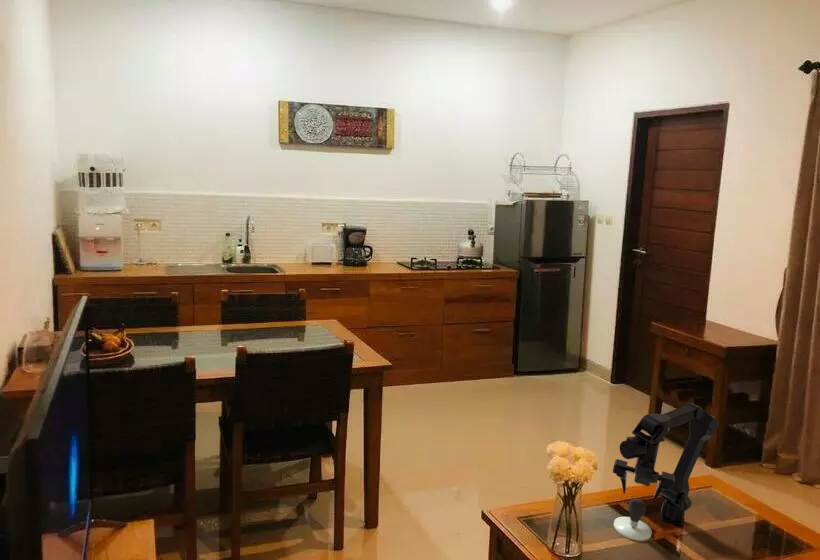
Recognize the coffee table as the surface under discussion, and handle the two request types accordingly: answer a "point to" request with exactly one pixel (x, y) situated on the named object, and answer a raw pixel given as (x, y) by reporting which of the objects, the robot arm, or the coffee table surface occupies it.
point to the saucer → (632, 529)
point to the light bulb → (636, 511)
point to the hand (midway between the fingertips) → (638, 497)
